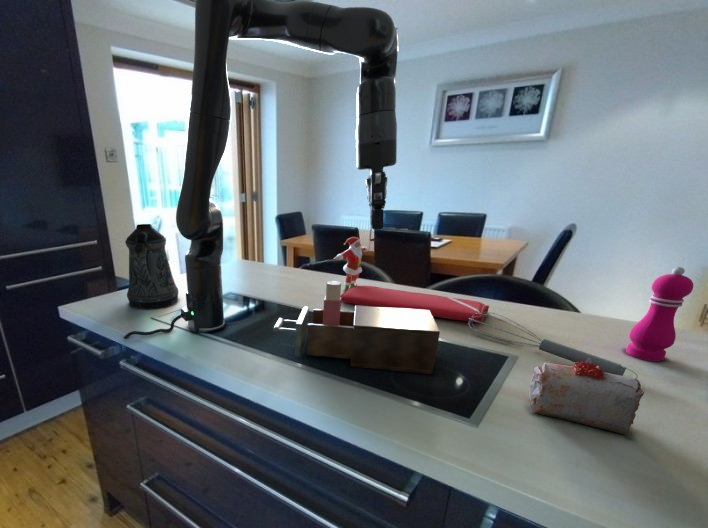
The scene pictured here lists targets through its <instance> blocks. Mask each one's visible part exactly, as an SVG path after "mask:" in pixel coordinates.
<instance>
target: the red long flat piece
mask: <svg viewBox="0 0 708 528" xmlns="http://www.w3.org/2000/svg"><path fill="white" fill-rule="evenodd" d="M349 288H350V287H349ZM340 297H341V303H342V302H343V303H347V304H353V305H357V306H371V307H387V308H403V309H419V310H430V312H431V314H432V316H433V317H436V318H442V319H449V320H455V321H462V322H469V321H471V320H470V319H471V318H472V316H473V315H474V314H476V315H474V318H473V320H476V321H479V322H482V323H483V321H484V319H485V317H486V315H488V314H489V313H488V312H489V309H490V306H489V305H488V304H484V303H483V302H480V301H477V300H472V299H463V298H457V297H456V298H455V297H449V296H444V295H443V296H442V295H437V294H436V295H435V294H429V293H421V292H413V291H407V290H400V289H394V288H393V289H392V288H385V287H378V286H372V285H357V286H355V287H353V288H350V289H348V290H347V291H343V292H342V293H341V294H340ZM479 312H481V313H482V314H479ZM477 313H478V314H477ZM484 314H486V315H484ZM475 316H478V317H475ZM469 318H470V319H469ZM473 320H472V321H471V323H477V322H476V321H473Z"/></svg>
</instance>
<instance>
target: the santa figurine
mask: <svg viewBox="0 0 708 528" xmlns="http://www.w3.org/2000/svg"><path fill="white" fill-rule="evenodd" d="M347 244H348V245H349V247H348V249H346V250H344V251H343V252H341V253H338V254H337V255H336V256H335V257H333V260H337V261H341V260H343V259H346V263H345V264H344V265H343V268H342V270H343V272H345V274H346V277H345V281H344V290H343V292H345V291H347V290H348V289H350V288H353V287H355V286H358V284H356V282H357V279H358V278H359V276H360V273H362V272H363V268H362V267H361V266H362V259H363V252H364V253H366V252H368V251H369V250H370V248H369V247H368V246H364V245H363V246H362V244H361V239H360V238H359V237H358V236H357V237H356V236H351V237H349V238H347V239H346V241H345V242H344V243H343V245H344V246H346V245H347Z"/></svg>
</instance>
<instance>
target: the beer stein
mask: <svg viewBox="0 0 708 528" xmlns="http://www.w3.org/2000/svg"><path fill="white" fill-rule="evenodd" d="M124 243H125V245H126V248H127V249H128V290H127V292H126V297H127V300H128V302H129V306H131V308H134V309H138V310H156V309H163V308H168V307H170V306H173V305H175V304H177V302H178V299H179V288H178V286H177V284H176V282H175V279H174V276H173V273H172V270H171V266H170V263H169V258H168V255H167V251H166V244H167V238H166V237H165V236H164V235H163V234H161V233H160V232H159V231H158V230H156V229H155V228H154V227H153V225H152V224H150V223H140V224H136V227H135V229H134V230H133V231H132V232H131V233H130V235H128V236H127V238H126V239H125V242H124Z"/></svg>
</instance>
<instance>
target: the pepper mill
mask: <svg viewBox="0 0 708 528" xmlns="http://www.w3.org/2000/svg"><path fill="white" fill-rule="evenodd" d="M685 271H686V270H685V268H683V267H681V266H677V267H674V268H673V269H672V270H671V273H667V274H663V275H660V276H658V277H657V278H656V279H655V280H654V281H653V282H652V284H651V290H652V293H653V294H652V295H651V296H650V299H649V302H650V306H649V308H648V310H647V313H645V315H644V316H643V317H642V318H641V319H640V320H639V321H637V323H636V324H635V325H634V326H633V327H632V328H631V329H630V331H629V334H628V338H629V340H630V341H631V343H628V344H627V347H626V349H625V352H626V354H628V355H629V356H631V357H634V358H636V359H639V360H645V361H650V362H661V361H663V360H664V359H665V357H666V355H667V351H666V349H668V348H671V347H672V346H673V345H674V344H675V342H676V337H677V336H676V335H677V334H676V327H675V316H676V313H677V311H678V309H679V308H681V307H683V303H684V302H685V300H684V298H685V297H688V296H689V295H691V293H692V292H693V289H694V282H693V280H692V279H691V278H689V277H688V276H685V275H684V273H685Z"/></svg>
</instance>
